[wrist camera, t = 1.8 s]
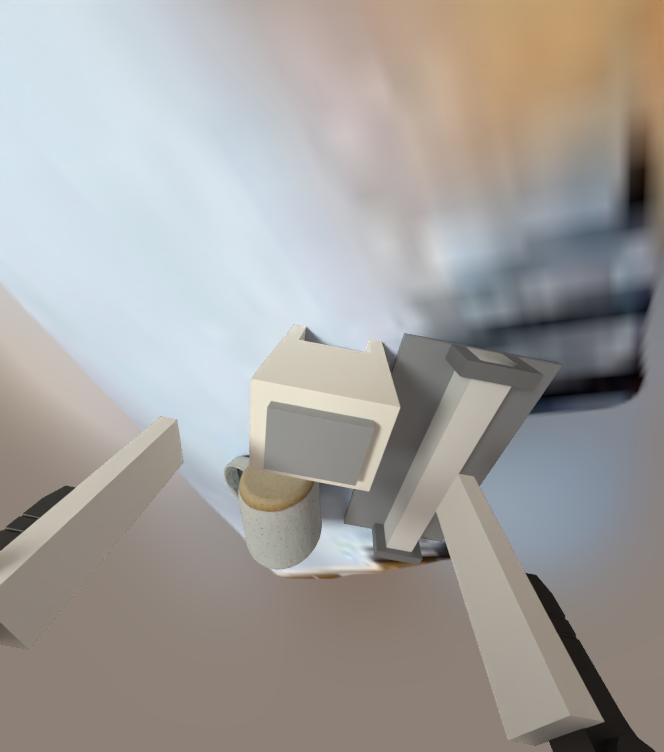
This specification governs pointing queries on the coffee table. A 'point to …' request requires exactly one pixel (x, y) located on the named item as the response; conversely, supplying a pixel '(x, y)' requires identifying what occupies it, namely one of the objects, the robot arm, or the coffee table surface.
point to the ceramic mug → (276, 514)
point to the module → (322, 412)
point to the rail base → (416, 417)
